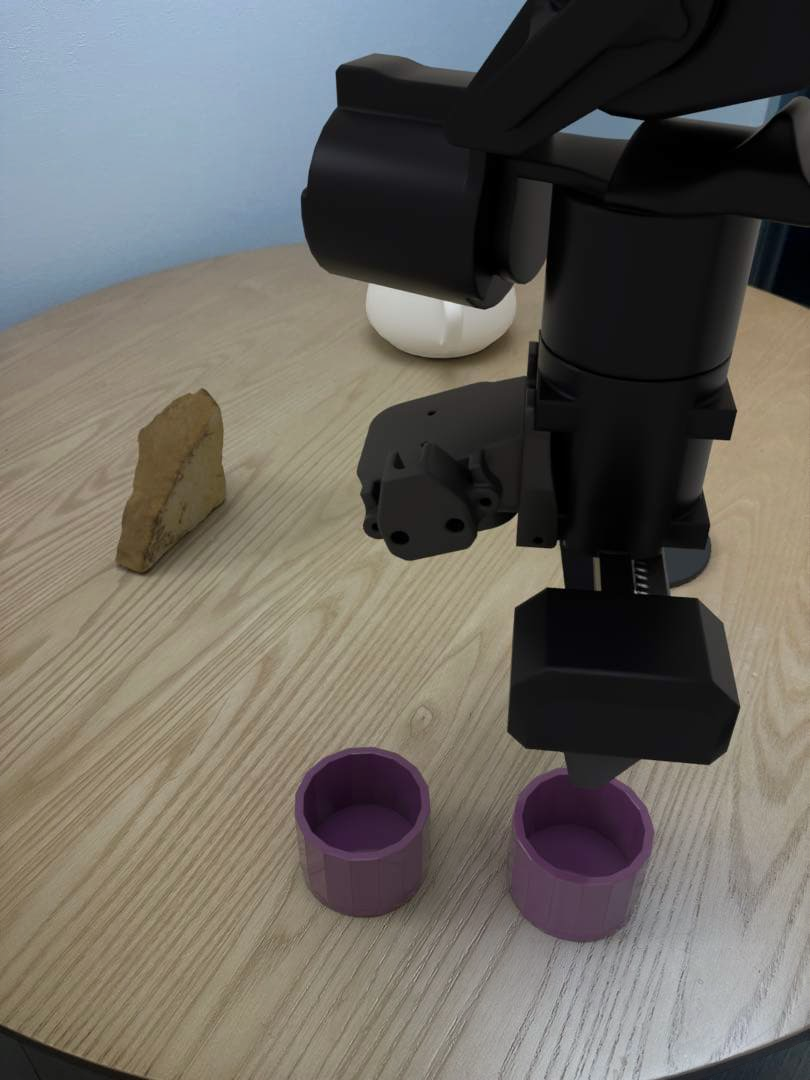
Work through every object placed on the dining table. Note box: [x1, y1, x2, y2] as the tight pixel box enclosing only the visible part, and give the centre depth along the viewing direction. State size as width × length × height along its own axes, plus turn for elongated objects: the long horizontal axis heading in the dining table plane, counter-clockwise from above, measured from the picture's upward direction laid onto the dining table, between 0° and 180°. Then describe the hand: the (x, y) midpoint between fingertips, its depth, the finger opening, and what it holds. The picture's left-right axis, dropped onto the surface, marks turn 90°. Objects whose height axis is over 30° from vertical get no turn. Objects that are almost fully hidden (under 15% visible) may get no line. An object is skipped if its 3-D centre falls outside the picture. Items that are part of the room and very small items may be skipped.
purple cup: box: [506, 766, 655, 943], centre depth 42 cm, size 6×6×4 cm
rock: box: [114, 387, 227, 574], centre depth 63 cm, size 11×9×10 cm
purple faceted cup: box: [293, 746, 432, 918], centre depth 43 cm, size 6×6×4 cm
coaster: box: [632, 534, 712, 590], centre depth 63 cm, size 10×10×1 cm
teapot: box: [365, 283, 517, 359], centre depth 85 cm, size 22×14×11 cm, turn 4°
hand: (582, 691), depth 38 cm, fingers open, 9 cm apart
